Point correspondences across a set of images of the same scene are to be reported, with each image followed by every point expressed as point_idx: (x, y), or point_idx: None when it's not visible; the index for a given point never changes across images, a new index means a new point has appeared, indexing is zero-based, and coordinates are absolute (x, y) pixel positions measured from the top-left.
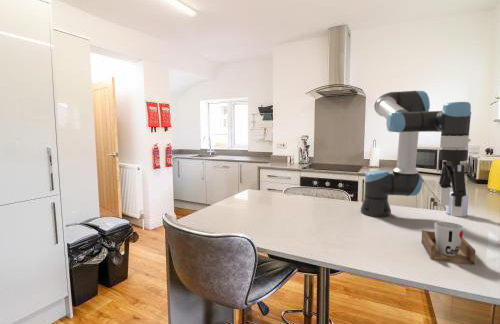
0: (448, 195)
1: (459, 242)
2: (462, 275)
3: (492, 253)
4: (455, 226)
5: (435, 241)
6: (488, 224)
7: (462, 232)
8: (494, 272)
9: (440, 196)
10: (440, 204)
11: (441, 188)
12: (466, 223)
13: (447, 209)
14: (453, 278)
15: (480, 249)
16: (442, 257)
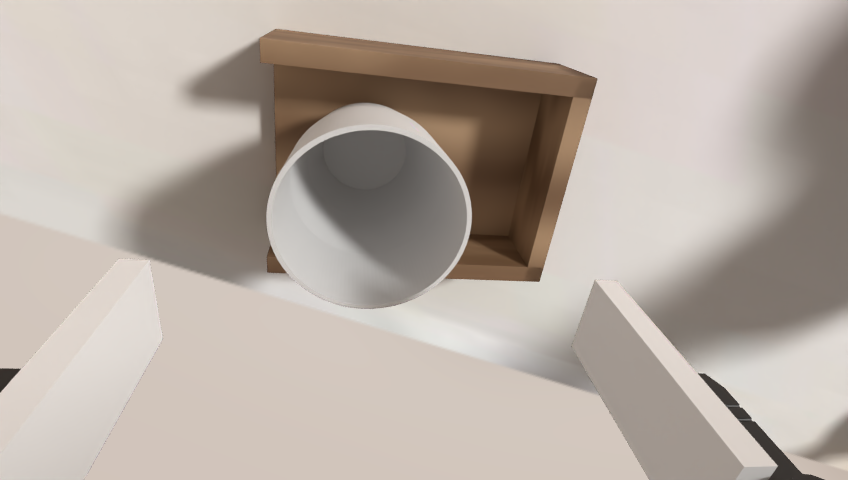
0: (632, 433)
1: (309, 225)
2: (104, 130)
3: (457, 343)
4: (425, 271)
5: (533, 142)
6: (801, 436)
7: (318, 275)
8: (226, 279)
9: (670, 349)
10: (600, 286)
11: (734, 459)
12: (832, 373)
13: None
14: (26, 66)
15: (497, 318)
16: (280, 98)
